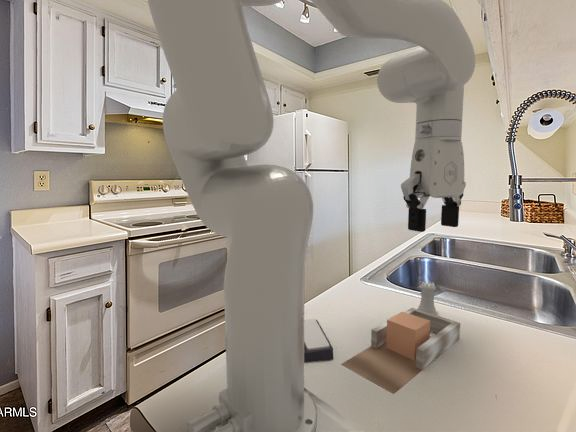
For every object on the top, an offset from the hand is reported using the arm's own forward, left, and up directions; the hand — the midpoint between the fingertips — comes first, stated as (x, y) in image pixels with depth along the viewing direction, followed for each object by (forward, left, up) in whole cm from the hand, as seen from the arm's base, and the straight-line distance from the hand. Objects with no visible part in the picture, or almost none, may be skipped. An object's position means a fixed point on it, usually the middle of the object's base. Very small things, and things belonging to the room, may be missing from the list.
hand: (433, 228), depth 58 cm
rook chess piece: (+7, +4, -21) cm, 23 cm away
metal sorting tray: (-11, -1, -21) cm, 24 cm away
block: (-10, -1, -19) cm, 22 cm away
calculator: (-25, +14, -22) cm, 36 cm away
